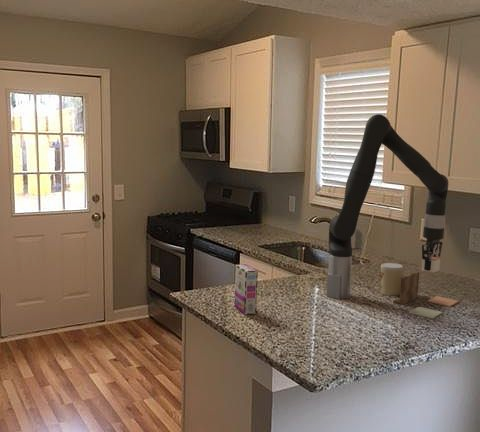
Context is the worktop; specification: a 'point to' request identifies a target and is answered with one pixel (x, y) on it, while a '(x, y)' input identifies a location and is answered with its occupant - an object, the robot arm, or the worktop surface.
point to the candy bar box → (246, 289)
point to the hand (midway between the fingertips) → (430, 268)
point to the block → (432, 264)
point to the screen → (408, 288)
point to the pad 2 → (443, 301)
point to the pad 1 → (426, 312)
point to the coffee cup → (391, 278)
